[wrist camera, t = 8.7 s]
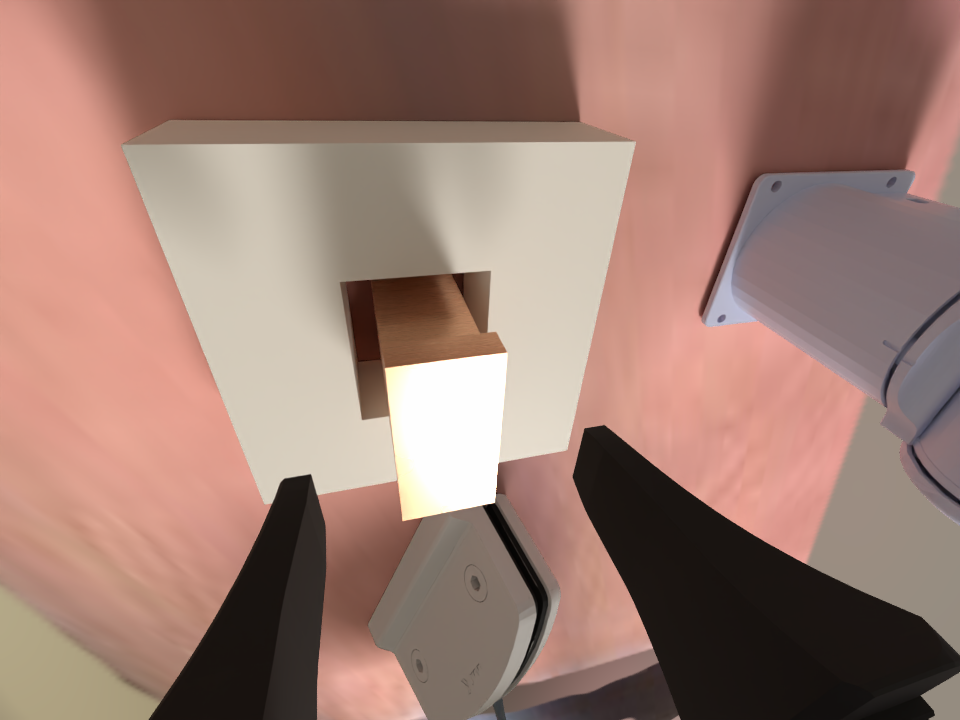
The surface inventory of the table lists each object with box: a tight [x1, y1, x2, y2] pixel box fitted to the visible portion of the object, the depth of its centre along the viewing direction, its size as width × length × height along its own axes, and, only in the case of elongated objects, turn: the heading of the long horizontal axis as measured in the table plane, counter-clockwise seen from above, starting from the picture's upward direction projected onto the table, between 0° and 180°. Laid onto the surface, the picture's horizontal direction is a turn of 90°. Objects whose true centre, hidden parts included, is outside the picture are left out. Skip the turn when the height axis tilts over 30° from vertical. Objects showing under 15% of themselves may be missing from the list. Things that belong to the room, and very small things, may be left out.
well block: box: [121, 120, 636, 504], centre depth 18 cm, size 14×14×4 cm
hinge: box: [368, 494, 561, 720], centre depth 30 cm, size 17×5×10 cm, turn 156°
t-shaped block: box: [371, 274, 507, 521], centre depth 16 cm, size 3×6×9 cm, turn 178°
